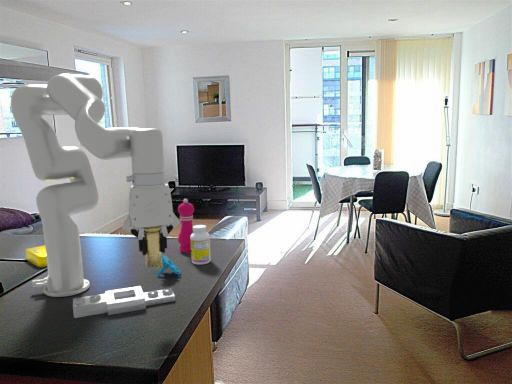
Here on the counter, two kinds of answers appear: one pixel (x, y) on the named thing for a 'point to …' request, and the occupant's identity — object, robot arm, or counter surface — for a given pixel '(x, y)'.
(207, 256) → the supplement bottle
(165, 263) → the gear
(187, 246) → the pepper mill
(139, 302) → the white studded link plate
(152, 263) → the pin
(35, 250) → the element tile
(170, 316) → the counter surface
